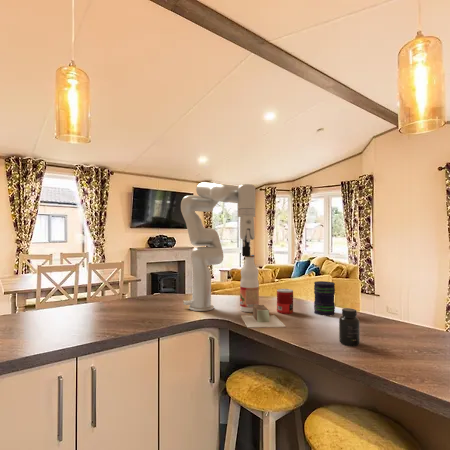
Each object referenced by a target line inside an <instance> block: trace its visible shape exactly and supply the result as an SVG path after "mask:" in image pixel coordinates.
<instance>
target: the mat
mask: <svg viewBox="0 0 450 450" xmlns="http://www.w3.org/2000/svg"><path fill="white" fill-rule="evenodd" d="M240 316H241V319H242V321H243V322H244V324H245V326H246V327H247V329H255V328H258V329H260V328H286V325H285V324H284V323H283V322H282V321H281V320H280V319H279V318H278V317H277V316H276V315H275V314H273V315H272V314H271V315H270V314H269V322H257V321H256V319H255V318H254V317H253V315H240Z"/></svg>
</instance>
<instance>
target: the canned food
mask: <svg viewBox="0 0 450 450" xmlns="http://www.w3.org/2000/svg"><path fill="white" fill-rule="evenodd" d="M276 311H277V313H278V314H282V315H290V314H293V312H294V290H293V289H289V288H278V289H277V290H276Z"/></svg>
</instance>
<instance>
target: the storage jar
mask: <svg viewBox="0 0 450 450" xmlns="http://www.w3.org/2000/svg"><path fill="white" fill-rule="evenodd" d="M313 283H314V285H313V290H314V291H313V293H314V302H313V308H314V309H313V310H314V314H315V315H319V316H323V315H326V316H325V317H330V315H332V316H335V315H334V314H335V310H336V304H335V295H336V292H335V291H336V289H335V288H336V286H335V285H336V284H335V282H332V281H322V280H321V281H318V280H317V281H314V282H313Z"/></svg>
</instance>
